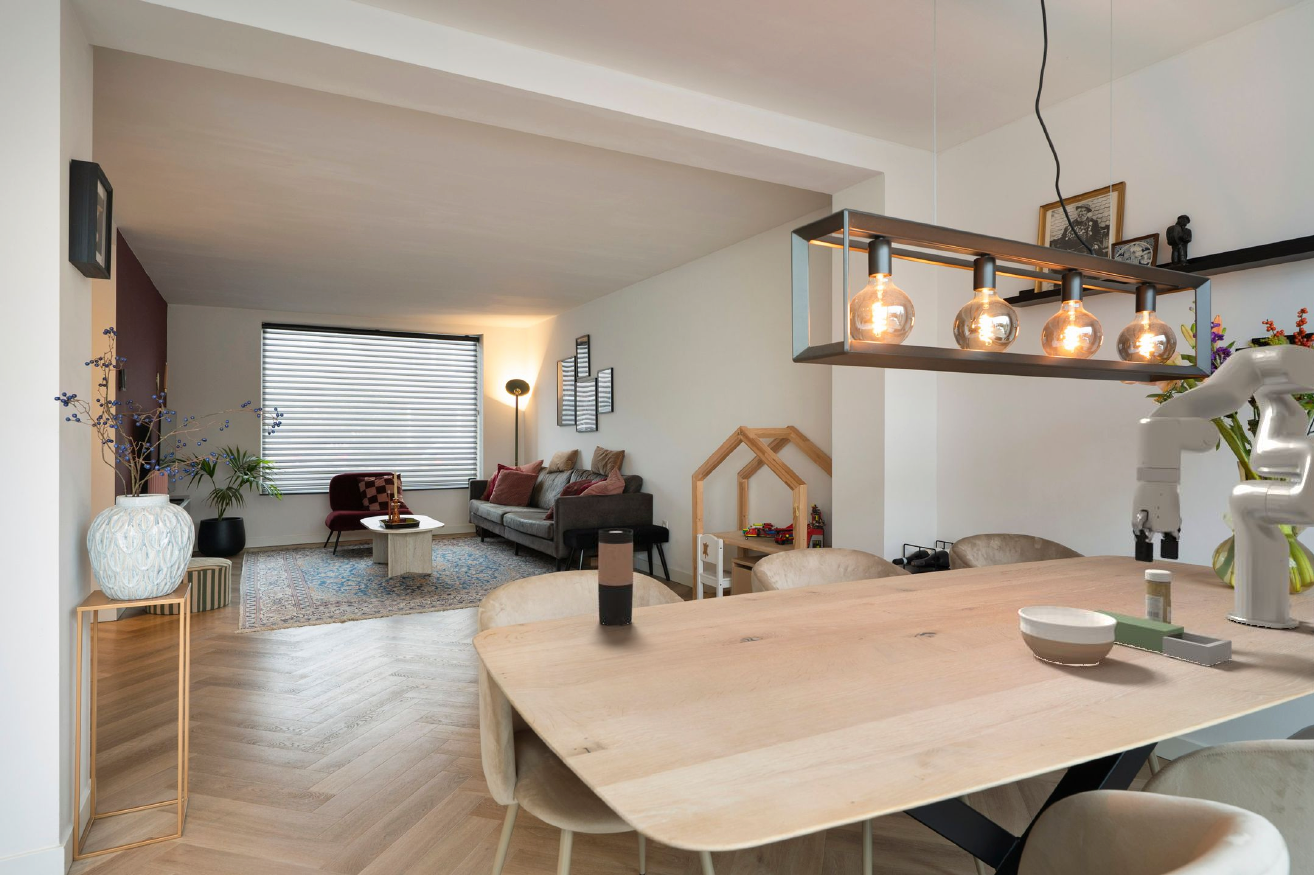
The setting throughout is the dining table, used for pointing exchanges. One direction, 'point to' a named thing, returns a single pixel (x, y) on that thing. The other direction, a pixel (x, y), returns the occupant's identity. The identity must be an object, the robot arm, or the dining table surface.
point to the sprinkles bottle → (1158, 595)
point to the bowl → (1067, 634)
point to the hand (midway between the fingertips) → (1156, 560)
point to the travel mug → (615, 576)
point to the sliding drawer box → (1170, 639)
